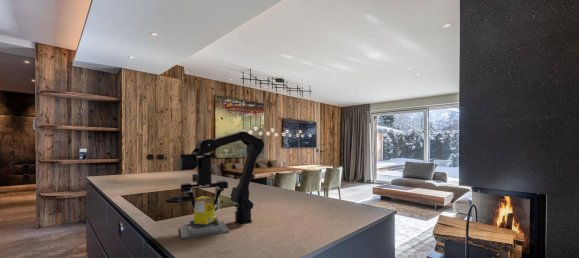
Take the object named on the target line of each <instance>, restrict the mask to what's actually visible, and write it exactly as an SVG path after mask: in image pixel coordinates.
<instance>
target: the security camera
mask: <svg viewBox="0 0 579 258" xmlns="http://www.w3.org/2000/svg"><path fill="white" fill-rule="evenodd" d="M219 210H220V197H219V198H218V200H217V203H216V206H214V214H215V213H217V212H219ZM214 218H216V215H214Z"/></svg>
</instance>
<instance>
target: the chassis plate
mask: <svg viewBox="0 0 579 258" xmlns="http://www.w3.org/2000/svg"><path fill="white" fill-rule="evenodd" d="M179 232H180V238H181V240H186V239H193V238H199V237H205V236H206V237H207V236H213V235H219V234H226V233H230V229H229V227H228V226H227V225H226V224H225V221H223V220H222V221H220V220H219V219H218V217H215V218H214V223H212V224H210V225H208V226H197V225H194V219H192V220H191V219H190V220H187V221H186V225H185V226H183V225H182V226H179Z"/></svg>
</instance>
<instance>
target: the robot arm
mask: <svg viewBox="0 0 579 258" xmlns="http://www.w3.org/2000/svg"><path fill="white" fill-rule="evenodd" d="M239 141H240V142H242V144H244V145H245V146H246V155H247V156H246V159H245V161H244V165H243V170H242V172H241V174H240V175H241V176H240V178H239V180H238V181H239V182H238V184H237V186H236V187H234V186H233V187H232V190H231V193H230V194H229V196H230V202H231V203H232V204H233V206H234V207H235V211H234V221H235V222H236V223H237V224H239V225H240V224H246V223H247V224H249V223H252V222H253V220H252V213H251V212H252V209H253V207H254V206H255V205H254V203H253V202H252V201H251V200H250V189H249V187H250V183H251V180H252V176H253V173H254V169H255V166H256V163H257V159H258V157H259V156H260V155H261V153H262V152H263V149H264V147H265V142H264V139H262V138H260V137H256V136H255V135H252V134H250V133H248V132H247V131H246V130H241V131H238V132H235V133H231V134H227V135H224V136H221V137H217V138H208V139H207V138H206V139H200V140H198V141H197V142H196V144H195V148H194V149H193V151H192V152H191V153H180V154H179V157H178V160H177V163H176V164H177V170H178V172H183V171H184V172H186V171H195V169H196V170H197V173H193V174H192V183H196V184H191V182H184V183H180V186H179V187H180V188H179V191H180V192H181V193H184V195H188V197H189V200H190V202H191V206H192V208H193V209H194V199H195V198H194V191H193V190H199V189H210V188H214V206H216V203H217V200H218V198H219V199H220V195H221V194H222V192H224V191H225V189H228V188H229V183H228V182H227V181H226V180H225V179H224V180H216V182H212V180H213V179H212V177H213V176H212V168H213V167H212V164H213V163H212V161H213V160H212V159H217V155H216V154H214V151H215V150H217V149H218V148H220V147H223V146H226V145H229V144H232V143H237V142H239Z"/></svg>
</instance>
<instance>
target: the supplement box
mask: <svg viewBox="0 0 579 258" xmlns="http://www.w3.org/2000/svg"><path fill="white" fill-rule="evenodd" d="M214 198H215V196H207V195H206V196H205V195H203V196H199V197H195V198H194V208H193V211H194V212H193V220H194V225H197V226H208V225H210V224H212V223H214V216H215V213H214Z"/></svg>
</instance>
